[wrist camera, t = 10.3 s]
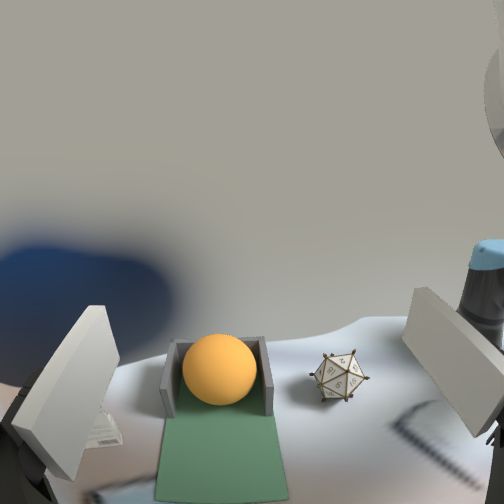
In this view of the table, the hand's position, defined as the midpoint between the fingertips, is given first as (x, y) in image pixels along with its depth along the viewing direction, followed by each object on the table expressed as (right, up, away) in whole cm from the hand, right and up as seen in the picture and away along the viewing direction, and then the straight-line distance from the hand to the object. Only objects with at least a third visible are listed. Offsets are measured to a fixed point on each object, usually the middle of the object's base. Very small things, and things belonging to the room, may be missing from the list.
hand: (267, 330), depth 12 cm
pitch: (-5, -22, +27) cm, 35 cm away
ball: (-5, -14, +31) cm, 34 cm away
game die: (+13, -20, +32) cm, 40 cm away
